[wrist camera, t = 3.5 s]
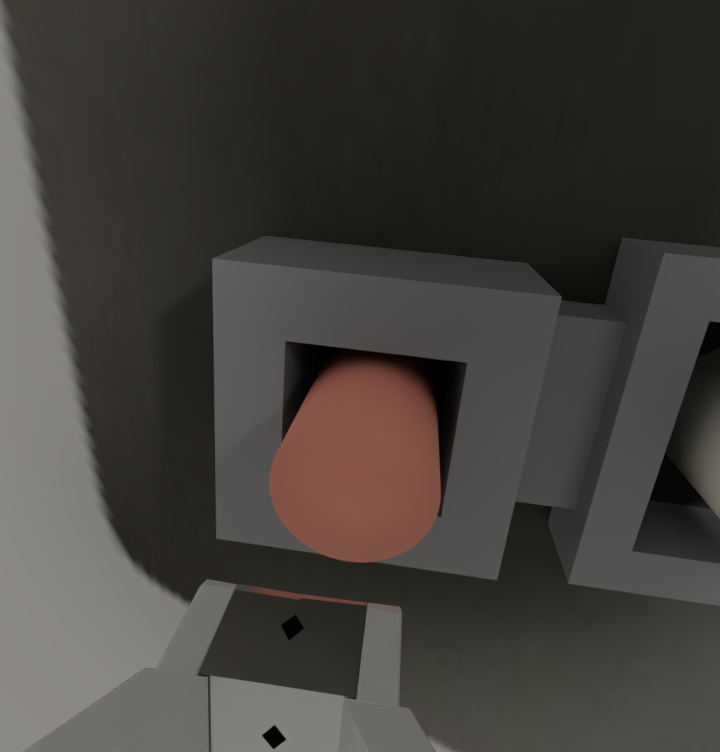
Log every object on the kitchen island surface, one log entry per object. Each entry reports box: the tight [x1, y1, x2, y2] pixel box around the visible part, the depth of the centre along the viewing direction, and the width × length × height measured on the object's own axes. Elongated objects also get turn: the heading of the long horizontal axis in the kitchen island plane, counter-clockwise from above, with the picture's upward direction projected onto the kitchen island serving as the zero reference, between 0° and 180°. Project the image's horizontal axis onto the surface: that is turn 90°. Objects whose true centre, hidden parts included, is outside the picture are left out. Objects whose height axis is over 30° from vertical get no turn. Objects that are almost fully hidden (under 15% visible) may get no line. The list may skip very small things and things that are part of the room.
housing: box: [212, 236, 720, 606], centre depth 15 cm, size 20×10×4 cm, turn 85°
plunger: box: [269, 348, 441, 562], centre depth 14 cm, size 4×4×5 cm
